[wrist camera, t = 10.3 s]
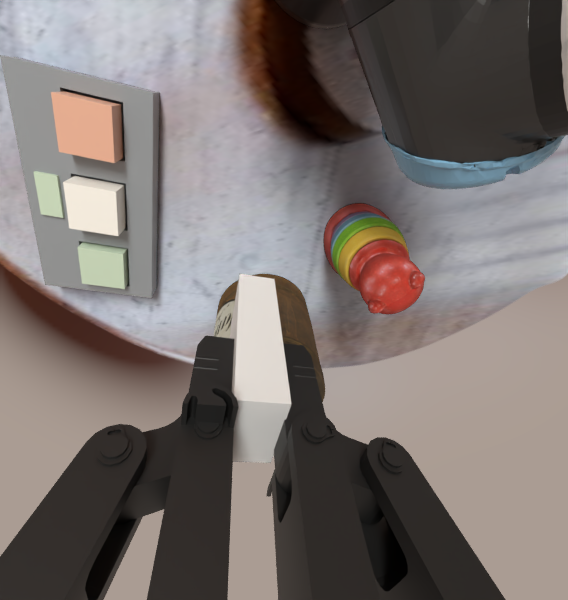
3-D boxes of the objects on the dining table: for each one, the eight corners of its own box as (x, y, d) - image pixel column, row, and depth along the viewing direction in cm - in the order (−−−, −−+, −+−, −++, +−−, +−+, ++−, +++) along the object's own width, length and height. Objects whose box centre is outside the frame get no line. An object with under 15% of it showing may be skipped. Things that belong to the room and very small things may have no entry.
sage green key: (87, 237, 43) (77, 247, 41) (130, 244, 45) (123, 254, 42) (90, 272, 46) (82, 283, 44) (131, 278, 47) (124, 289, 45)
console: (18, 57, 34) (-3, 55, 31) (159, 92, 36) (152, 93, 34) (55, 274, 47) (43, 286, 44) (156, 287, 50) (151, 299, 47)
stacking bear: (339, 277, 52) (375, 353, 37) (306, 228, 47) (333, 294, 32) (400, 240, 49) (465, 306, 35) (373, 184, 44) (435, 234, 30)
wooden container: (218, 269, 49) (200, 378, 31) (312, 276, 51) (348, 380, 33) (216, 343, 57) (202, 464, 39) (298, 346, 59) (321, 461, 41)
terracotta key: (65, 91, 33) (50, 91, 31) (121, 104, 34) (111, 106, 32) (71, 147, 36) (59, 152, 34) (123, 157, 37) (114, 163, 35)
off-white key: (75, 175, 38) (62, 182, 35) (124, 185, 39) (116, 191, 36) (80, 219, 41) (69, 228, 38) (126, 227, 42) (118, 236, 39)
